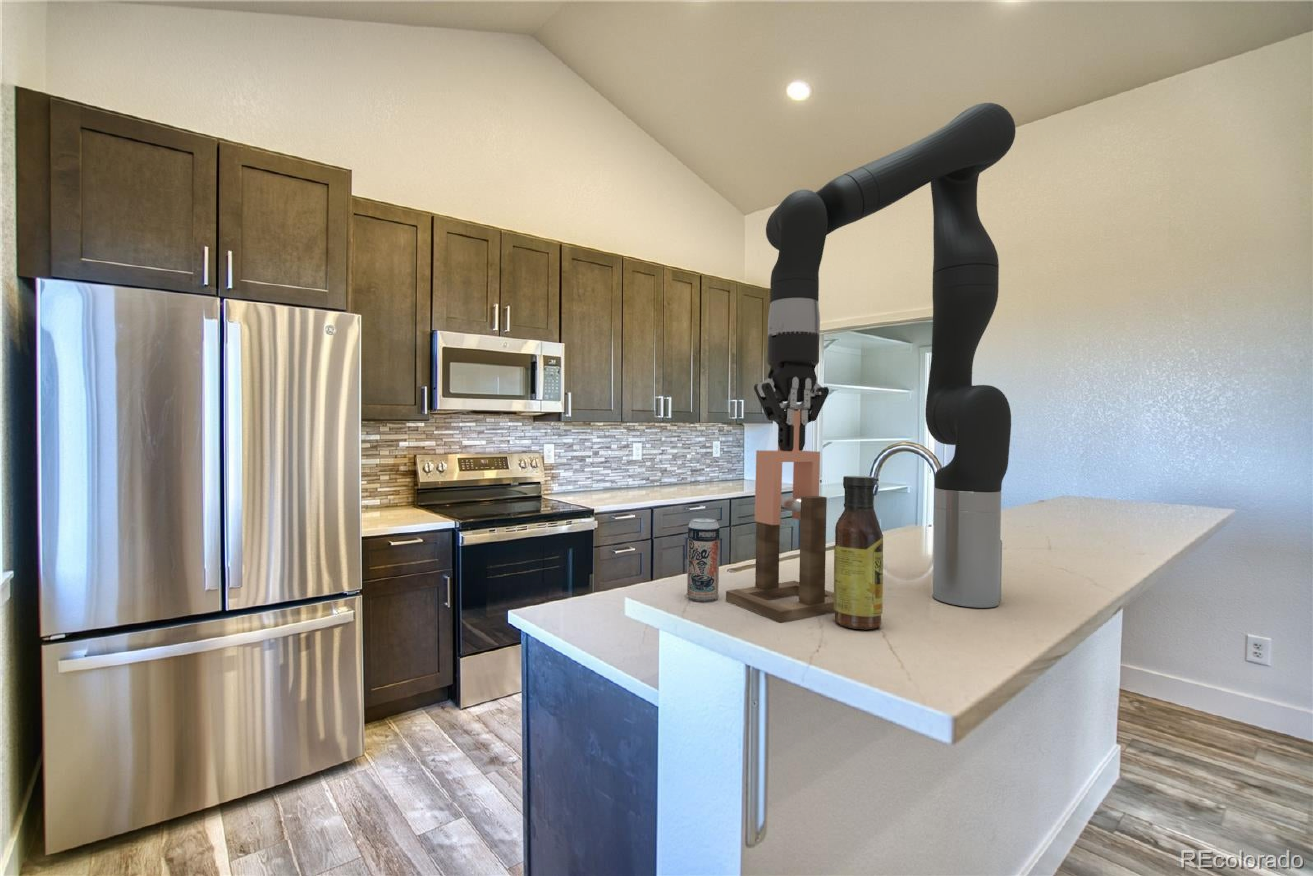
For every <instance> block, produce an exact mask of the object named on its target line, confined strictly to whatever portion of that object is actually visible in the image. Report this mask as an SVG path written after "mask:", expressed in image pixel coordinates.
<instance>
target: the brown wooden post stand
mask: <svg viewBox="0 0 1313 876" xmlns="http://www.w3.org/2000/svg"><path fill="white" fill-rule="evenodd" d="M827 502H828V501H827V496H821V495H819V496H803V497H801V499H800V498H793V496H786V495H781V510H784V511H791V512H792V511H795V512H801V519H800V520H799V521H800V523H799V525H800V527H799V529H800V530H799V531H800V532H799V533H800V535H799V573H798V574H799V580H789V581H783V582H780V539H781V538H780V537H781V536H780V535H781V533H780V527H781V524H780V525H770V524H765V523H761V522H756V521H755V522H756V526H755V527H756V530H755V533H756V534H755V572H754V573H755V579H754V580H755V582H754V586H750V587H748V586H747V587H743V588H735V589H729V590H725V602H728V603H730V604H733V605H735V604H736V605H735V606H738V607H740V608H742V609H746V610H747V609H748V611H751V612H753V613H755V614H757V615H760V616H763V617H765V618H767V619H769V620H773V621H775V622H778V623H779V624H781V623H787V622H791V621H798V620H802V619H806V618H807V619H808V618H813V617H817V616H823V615H828V614H835V610H834V591H833V592H832V591H829V590H826V559H827V558H826V552H827V551H826V549H827V547H826V545H827V506H828V505H827ZM792 596H798V601H794V602H789V603H783V604H777V603H775V602H772V601H769V600H774V599H779V598H787V597H792Z"/></svg>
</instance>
